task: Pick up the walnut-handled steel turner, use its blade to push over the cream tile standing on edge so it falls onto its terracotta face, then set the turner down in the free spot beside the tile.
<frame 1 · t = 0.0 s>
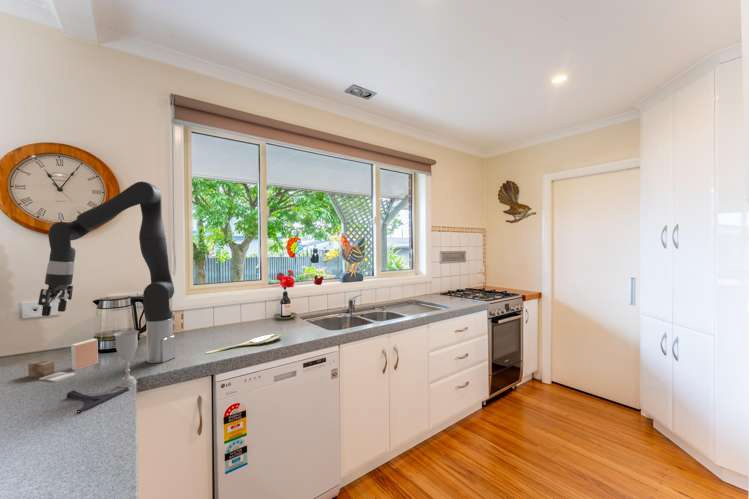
hand: (53, 313, 121), 22 cm above the countertop, tool pointing down, fingers open, 8 cm apart
spoon: (245, 346, 149), on the countertop
tile: (85, 366, 125), on the countertop
bracket: (88, 401, 98), on the countertop
chalice: (127, 384, 108), on the countertop
turner: (41, 375, 116), on the countertop
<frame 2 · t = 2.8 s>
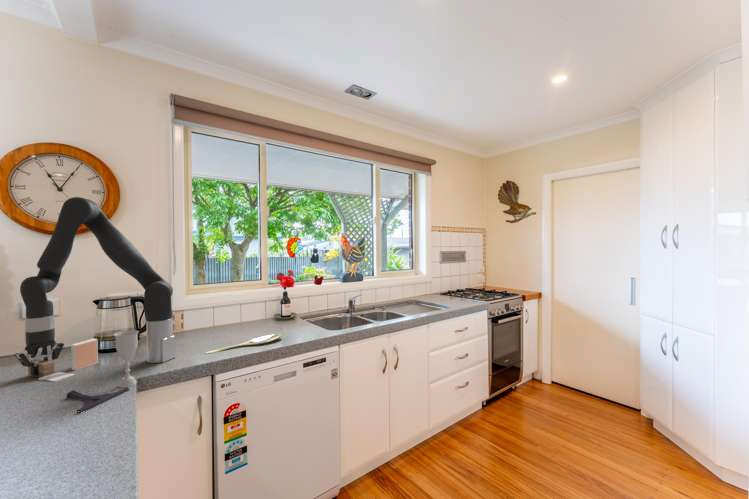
hand: (41, 374, 116), 1 cm above the countertop, tool pointing down, fingers closed on turner, 2 cm apart
turner: (41, 375, 116), on the countertop, touching gripper
everything else where it was.
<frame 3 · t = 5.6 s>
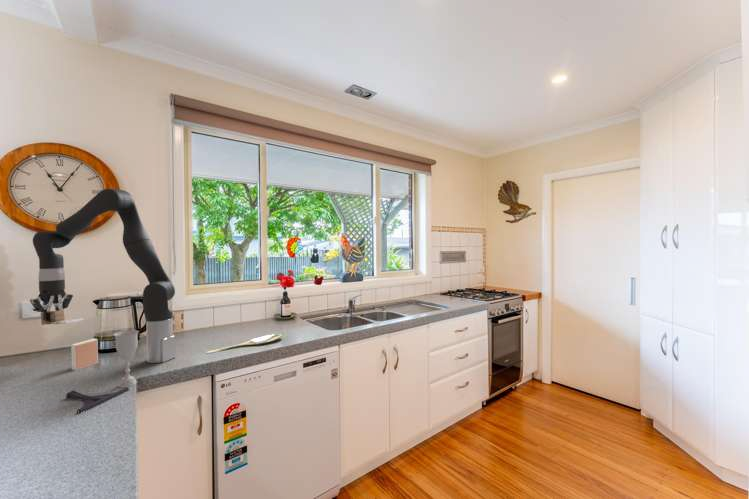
hand: (52, 320, 129), 18 cm above the countertop, tool pointing down, fingers closed on turner, 3 cm apart
turner: (53, 323, 129), point 17 cm above the countertop, tilted 6°, touching gripper
everything else where it was.
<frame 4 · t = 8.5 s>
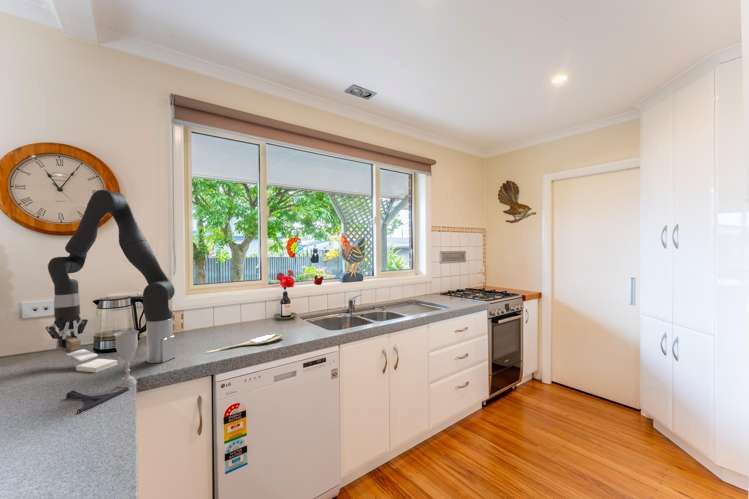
hand: (68, 346, 127), 7 cm above the countertop, tool pointing down, fingers closed on turner, 3 cm apart
tile: (87, 364, 125), point 1 cm above the countertop, tilted 90°
turner: (67, 349, 127), point 6 cm above the countertop, tilted 14°, touching gripper
everything else where it was.
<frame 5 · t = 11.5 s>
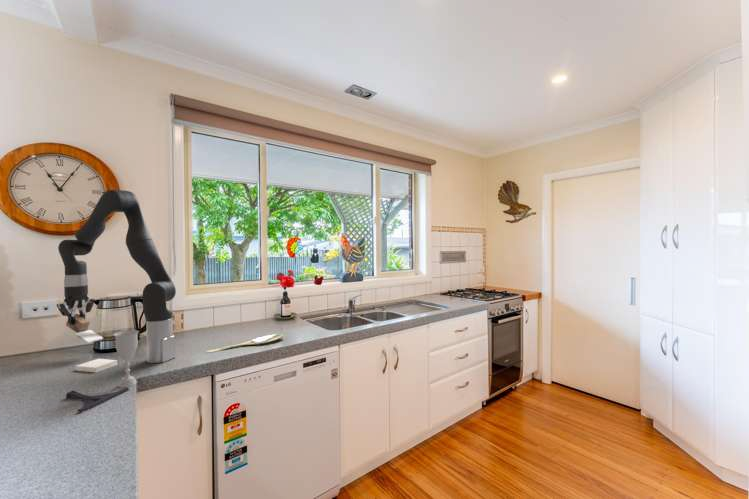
hand: (77, 323, 136), 15 cm above the countertop, tool pointing down, fingers closed on turner, 3 cm apart
turner: (76, 328, 137), point 12 cm above the countertop, tilted 25°, touching gripper
everything else where it was.
when the fingers open (2 cm above the countertop, at t = 14.0 s): turner drops 1 cm, on the countertop.
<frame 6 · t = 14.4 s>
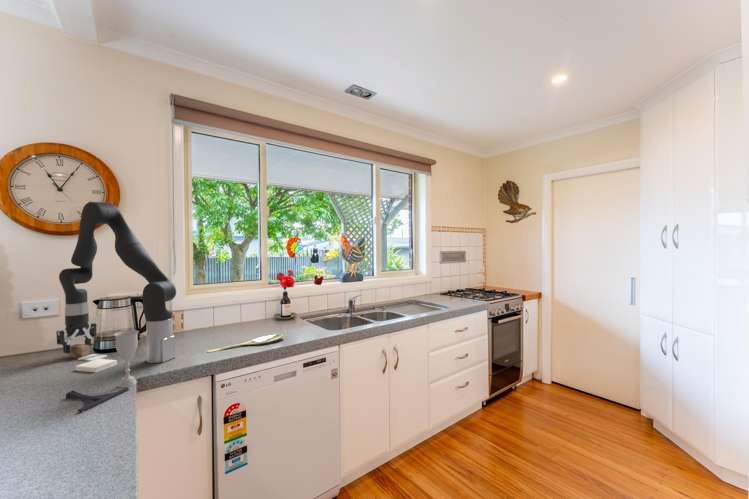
hand: (77, 350, 137), 3 cm above the countertop, tool pointing down, fingers open, 7 cm apart
turner: (79, 356, 136), on the countertop
everything else where it was.
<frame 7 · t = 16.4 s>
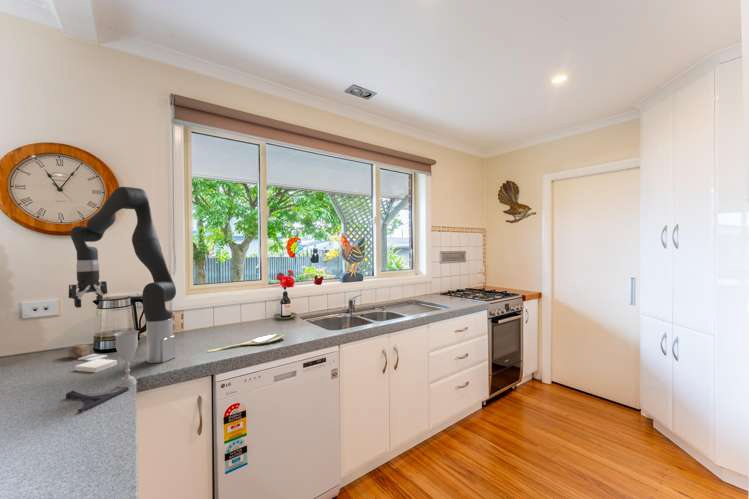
hand: (89, 305, 140), 22 cm above the countertop, tool pointing down, fingers open, 8 cm apart
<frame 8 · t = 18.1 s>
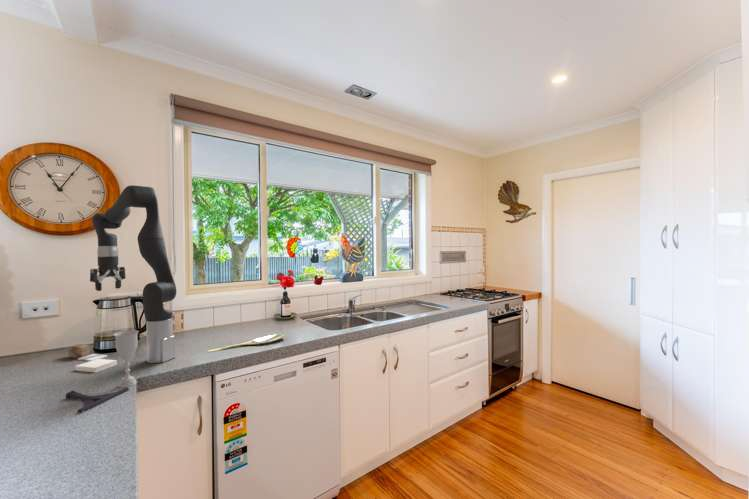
hand: (108, 289, 148), 28 cm above the countertop, tool pointing down, fingers open, 8 cm apart
at the end: tile tilted 90°; turner inside the target area (0.7 cm from its centre), on the countertop; the gripper is holding nothing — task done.
